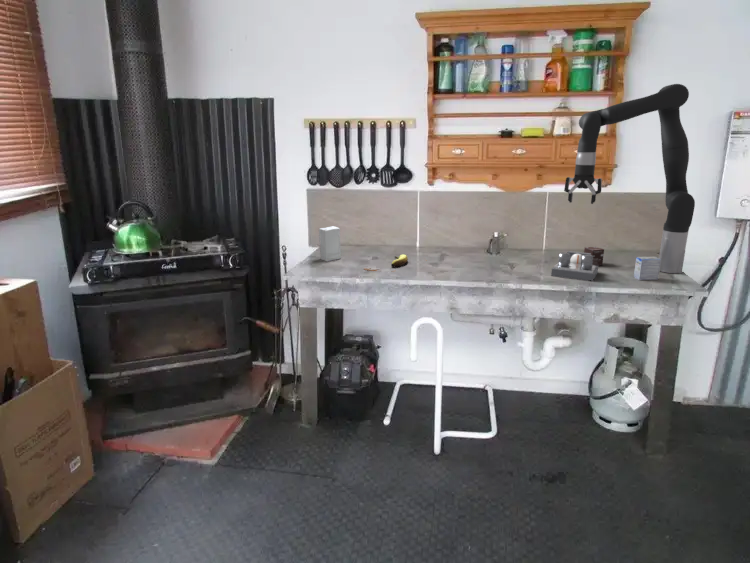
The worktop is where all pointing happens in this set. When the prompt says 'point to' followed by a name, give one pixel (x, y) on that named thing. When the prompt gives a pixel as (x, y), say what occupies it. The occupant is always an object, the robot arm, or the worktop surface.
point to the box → (595, 255)
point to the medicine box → (647, 268)
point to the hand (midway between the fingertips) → (581, 203)
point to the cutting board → (396, 262)
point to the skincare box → (329, 243)
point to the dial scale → (575, 268)
